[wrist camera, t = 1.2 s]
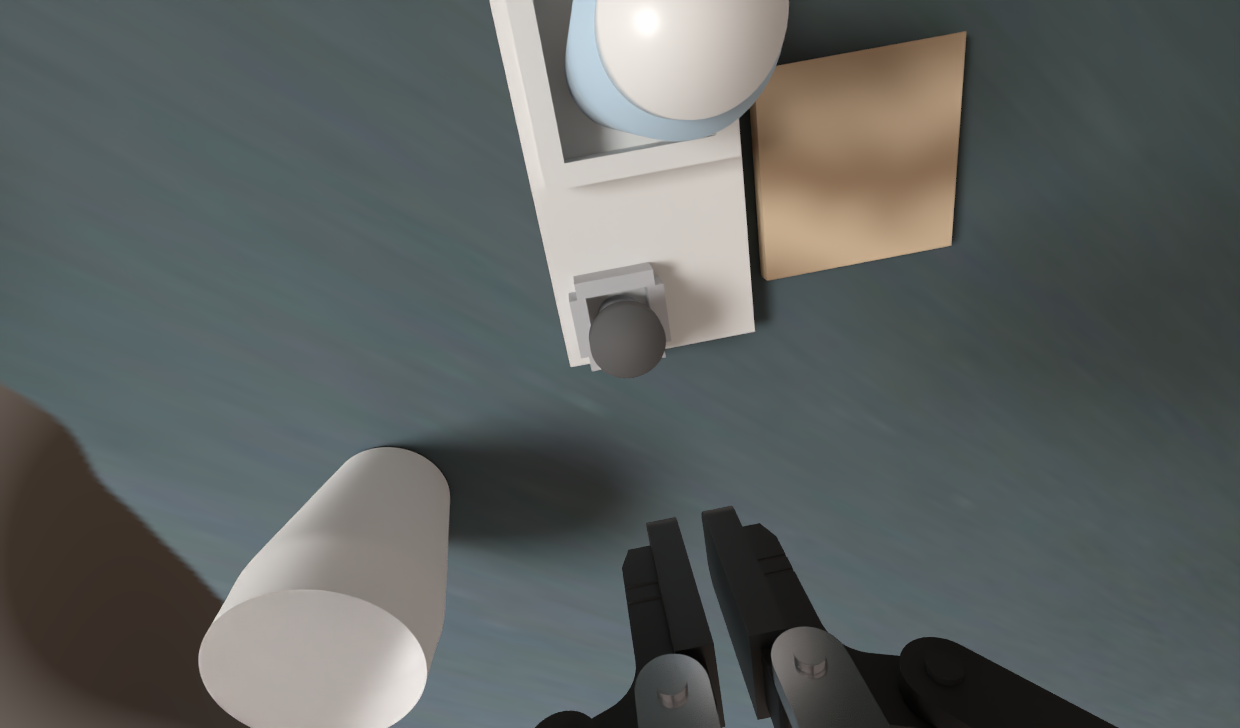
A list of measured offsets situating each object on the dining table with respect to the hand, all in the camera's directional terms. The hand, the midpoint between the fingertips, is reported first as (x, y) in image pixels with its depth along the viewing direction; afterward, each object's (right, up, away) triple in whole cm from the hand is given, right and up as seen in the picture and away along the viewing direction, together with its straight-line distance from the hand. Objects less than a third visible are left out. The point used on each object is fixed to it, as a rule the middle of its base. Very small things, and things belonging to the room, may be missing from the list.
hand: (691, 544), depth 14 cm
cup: (-15, -3, +21) cm, 26 cm away
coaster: (+10, +14, +16) cm, 24 cm away
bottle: (-2, +17, +12) cm, 21 cm away
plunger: (-2, +7, +16) cm, 17 cm away
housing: (-1, +14, +15) cm, 20 cm away
